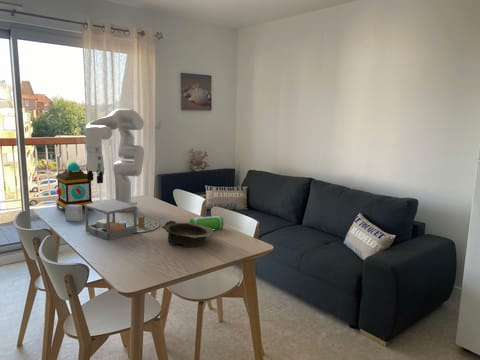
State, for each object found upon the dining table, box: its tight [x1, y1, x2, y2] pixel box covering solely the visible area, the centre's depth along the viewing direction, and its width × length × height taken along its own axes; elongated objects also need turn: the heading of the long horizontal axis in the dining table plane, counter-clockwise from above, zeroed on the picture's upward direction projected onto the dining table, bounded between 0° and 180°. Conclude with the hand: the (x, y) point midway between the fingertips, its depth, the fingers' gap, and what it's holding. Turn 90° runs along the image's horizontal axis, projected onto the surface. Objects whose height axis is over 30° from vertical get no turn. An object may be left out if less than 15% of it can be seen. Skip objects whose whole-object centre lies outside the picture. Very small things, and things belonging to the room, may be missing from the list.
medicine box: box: [64, 205, 83, 223], centre depth 207 cm, size 8×4×9 cm, turn 84°
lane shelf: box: [84, 199, 138, 241], centre depth 190 cm, size 17×20×14 cm
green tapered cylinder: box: [189, 215, 224, 230], centre depth 200 cm, size 18×7×8 cm, turn 113°
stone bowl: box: [161, 220, 214, 248], centre depth 180 cm, size 25×25×9 cm
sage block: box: [95, 218, 113, 229], centre depth 193 cm, size 6×6×5 cm
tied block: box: [110, 215, 146, 233], centre depth 193 cm, size 20×6×6 cm, turn 143°
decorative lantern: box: [55, 161, 94, 210], centre depth 228 cm, size 20×20×30 cm
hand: (95, 181), depth 195 cm, fingers open, 9 cm apart
